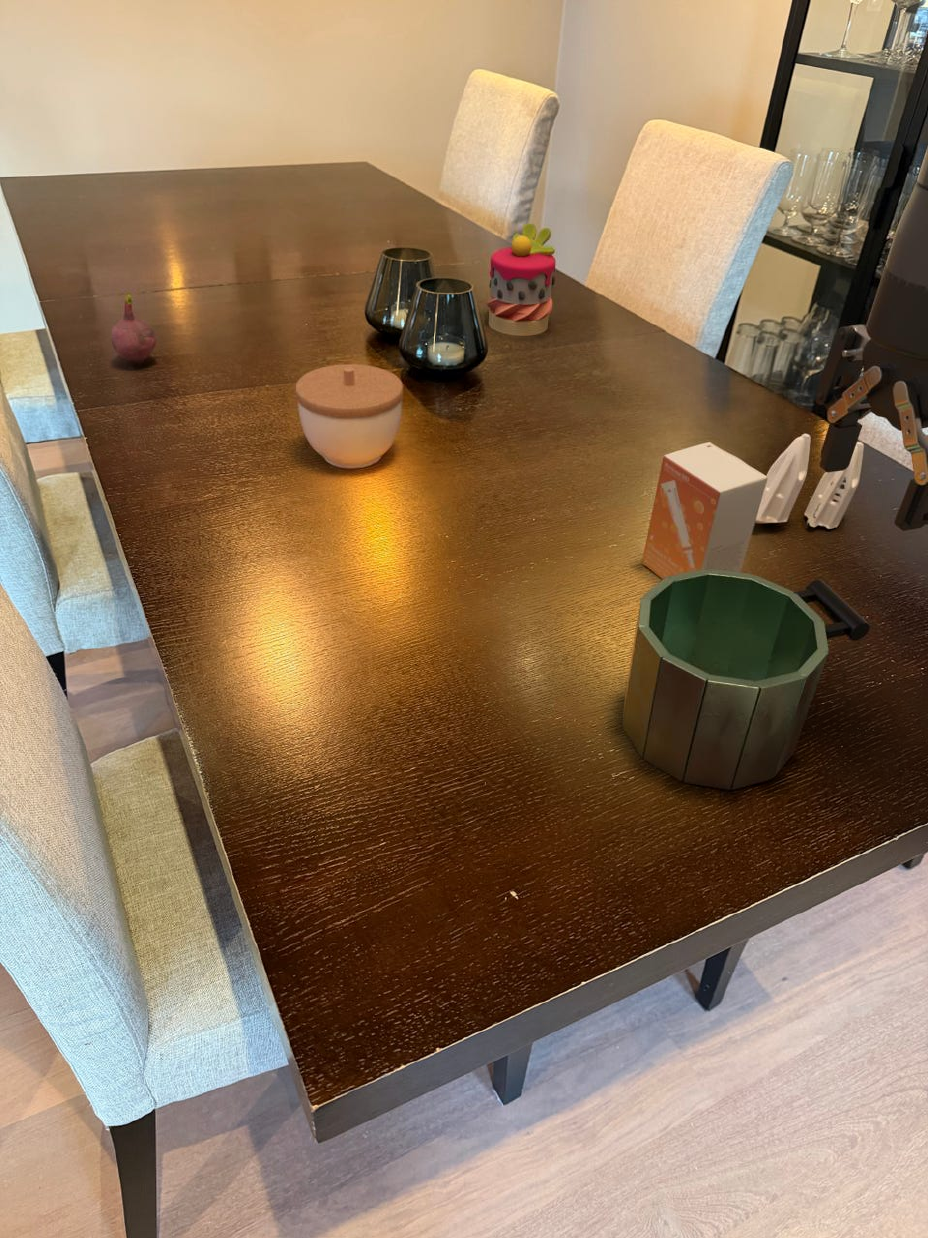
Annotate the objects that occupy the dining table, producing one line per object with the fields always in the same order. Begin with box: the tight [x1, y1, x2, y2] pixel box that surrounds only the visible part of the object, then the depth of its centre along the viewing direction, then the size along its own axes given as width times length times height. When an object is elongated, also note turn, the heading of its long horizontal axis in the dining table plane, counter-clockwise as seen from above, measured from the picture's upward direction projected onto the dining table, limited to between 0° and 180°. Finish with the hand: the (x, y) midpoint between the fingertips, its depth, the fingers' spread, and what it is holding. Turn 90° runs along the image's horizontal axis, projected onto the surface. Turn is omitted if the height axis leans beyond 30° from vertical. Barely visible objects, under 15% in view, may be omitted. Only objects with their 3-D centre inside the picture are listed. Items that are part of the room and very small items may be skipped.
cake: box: [486, 222, 557, 337], centre depth 143 cm, size 10×11×15 cm
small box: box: [641, 441, 768, 580], centre depth 89 cm, size 8×6×13 cm
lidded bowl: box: [294, 363, 404, 469], centre depth 107 cm, size 13×13×11 cm
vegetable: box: [110, 294, 157, 364], centre depth 126 cm, size 6×6×10 cm
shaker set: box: [755, 433, 865, 530], centre depth 99 cm, size 12×4×11 cm, turn 99°
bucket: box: [621, 569, 871, 791], centre depth 73 cm, size 11×14×18 cm
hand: (868, 496), depth 65 cm, fingers open, 8 cm apart
